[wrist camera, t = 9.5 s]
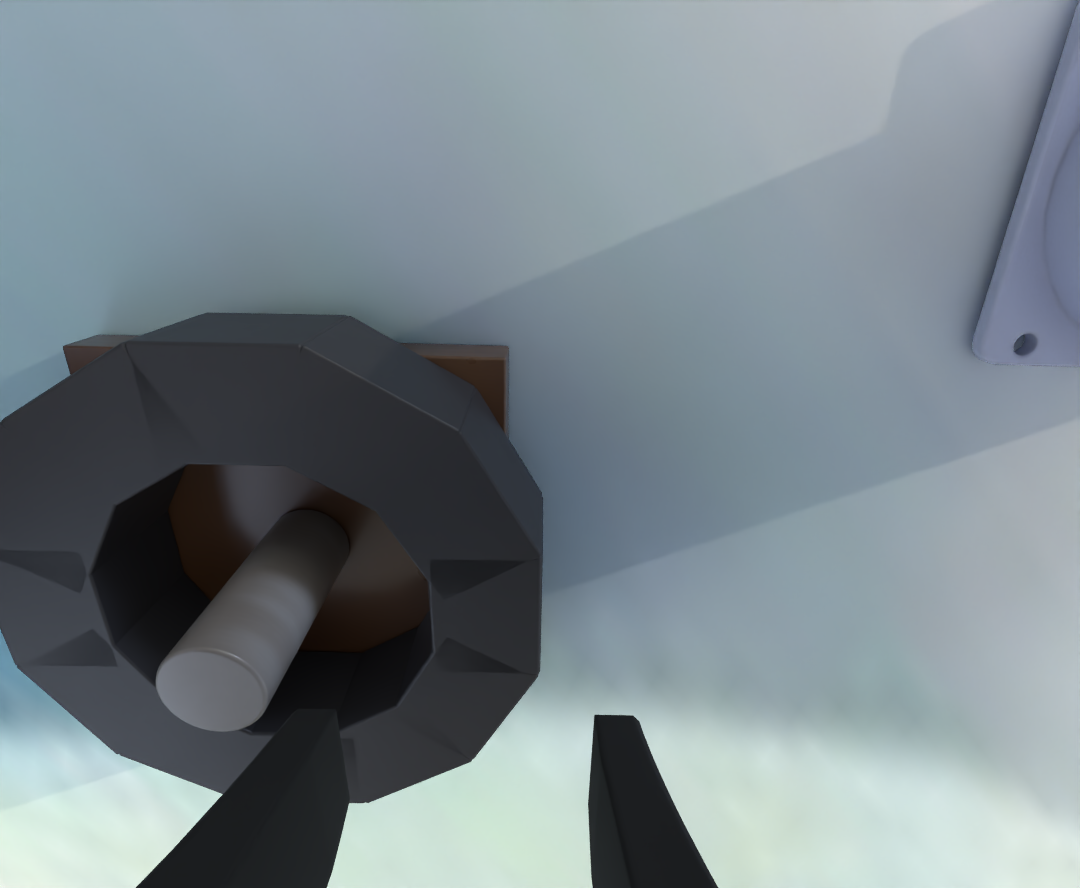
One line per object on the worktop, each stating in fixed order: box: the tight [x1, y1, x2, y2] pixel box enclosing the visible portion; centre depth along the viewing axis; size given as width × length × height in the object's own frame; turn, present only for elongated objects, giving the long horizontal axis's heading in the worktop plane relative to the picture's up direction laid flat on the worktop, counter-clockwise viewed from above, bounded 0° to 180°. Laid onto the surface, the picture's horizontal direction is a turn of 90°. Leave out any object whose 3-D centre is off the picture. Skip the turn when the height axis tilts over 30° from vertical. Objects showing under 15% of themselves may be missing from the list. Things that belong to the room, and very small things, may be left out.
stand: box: [63, 335, 509, 732], centre depth 14 cm, size 10×10×6 cm
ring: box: [0, 313, 543, 803], centre depth 14 cm, size 12×12×3 cm
